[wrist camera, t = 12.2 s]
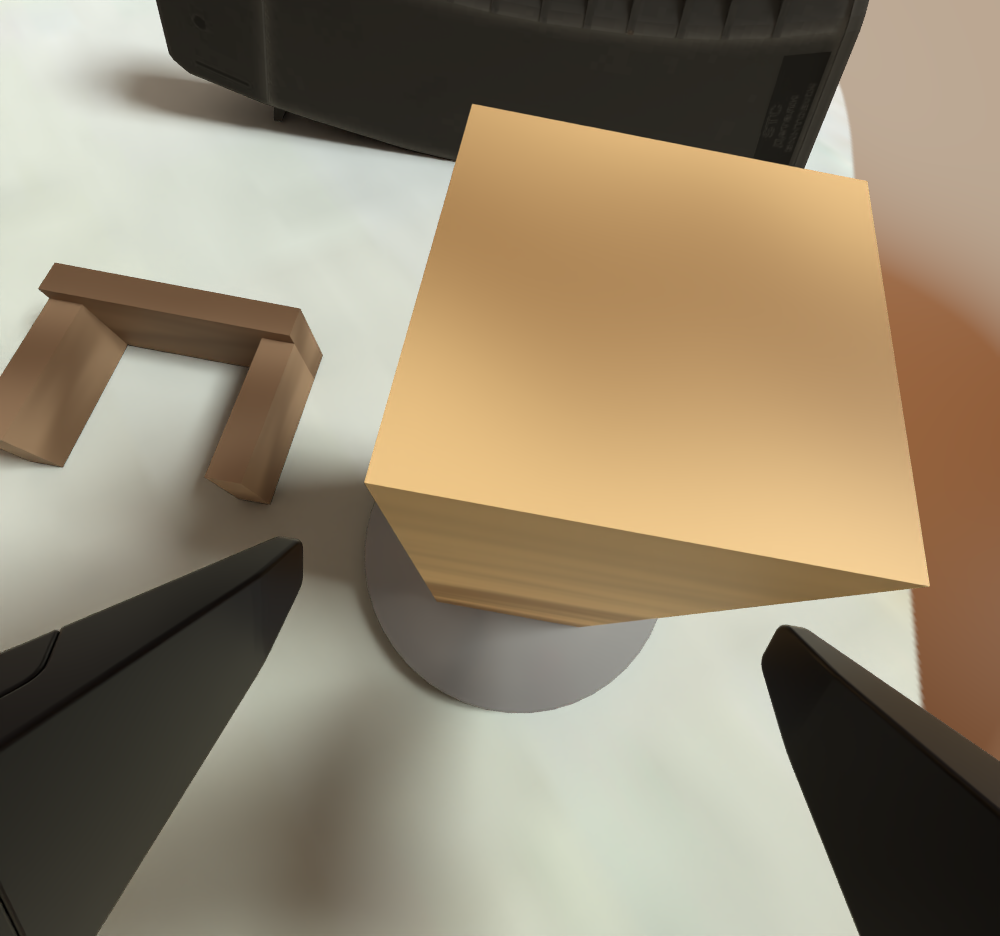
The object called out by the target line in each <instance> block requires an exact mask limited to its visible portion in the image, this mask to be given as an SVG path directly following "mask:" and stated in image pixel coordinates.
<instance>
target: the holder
mask: <svg viewBox="0 0 1000 936" xmlns="http://www.w3.org/2000/svg"><path fill="white" fill-rule="evenodd" d="M38 289H39V290H40V291H41V292H43V293H44V294H45V295H46V296H47V297H49V300H48V302H47V303H46V305H45V306H44V308H43V310H42V311H41V313H40V314H39V316H38V318H37V319H36V321H35V322H34V324H33V326H32V327H31V329H30V330H29V332H28V333H27V335H26V337H25V338H24V340H23V341H22V343H21V345H20V346H19V348H18V349H17V351H16V353H15V354H14V356H13V357H12V359H11V361H10V362H9V364H8V365H7V367H6V368H5V370H4V372H3V373H2V375H1V376H0V449H2V450H5V451H7V452H10V453H12V454H14V455H17V456H19V457H22V458H24V459H26V460H29V461H32V462H37V463H43V464H48V465H54V466H59V467H63V466H64V464H65V462H66V460H67V458H68V456H69V454H70V453H71V451H72V449H73V447H74V445H75V443H76V441H77V439H78V437H79V436H80V434H81V432H82V430H83V428H84V426H85V424H86V422H87V421H88V419H89V417H90V415H91V413H92V411H93V409H94V407H95V406H96V404H97V402H98V400H99V398H100V396H101V394H102V392H103V390H104V389H105V387H106V385H107V383H108V381H109V379H110V377H111V375H112V374H113V372H114V370H115V368H116V366H117V364H118V362H119V360H120V359H121V357H122V355H123V353H124V351H125V349H126V347H127V345H132V346H137V347H143V348H148V349H153V350H159V351H164V352H170V353H175V354H180V355H186V356H191V357H197V358H202V359H207V360H213V361H218V362H224V363H229V364H234V365H240V366H245V367H250V368H249V370H248V373H247V375H246V378H245V380H244V382H243V385H242V387H241V390H240V392H239V395H238V397H237V399H236V402H235V404H234V407H233V409H232V411H231V414H230V416H229V419H228V421H227V424H226V426H225V428H224V431H223V433H222V436H221V438H220V440H219V443H218V445H217V448H216V450H215V453H214V455H213V457H212V460H211V462H210V465H209V467H208V469H207V472H206V474H205V478H206V479H208V480H210V481H211V482H213V483H214V484H216V485H217V486H219V487H221V488H222V489H224V490H225V491H227V492H228V493H230V494H231V495H233V496H235V497H236V498H238V499H242V500H247V501H253V502H259V503H264V504H270V503H271V500H272V497H273V495H274V492H275V489H276V486H277V483H278V480H279V478H280V475H281V472H282V469H283V466H284V463H285V461H286V458H287V455H288V452H289V449H290V446H291V444H292V441H293V438H294V435H295V432H296V429H297V427H298V424H299V421H300V418H301V415H302V412H303V410H304V407H305V404H306V401H307V398H308V395H309V393H310V390H311V387H312V384H313V381H314V378H315V376H316V373H317V370H318V367H319V364H320V361H321V359H322V356H323V355H322V353H321V351H320V348H319V346H318V344H317V342H316V340H315V338H314V336H313V334H312V332H311V330H310V328H309V326H308V324H307V322H306V320H305V317H304V315H303V313H302V311H301V309H299V308H294V307H289V306H283V305H278V304H273V303H267V302H262V301H257V300H251V299H246V298H241V297H235V296H230V295H225V294H219V293H214V292H209V291H203V290H198V289H193V288H187V287H182V286H177V285H171V284H166V283H161V282H155V281H150V280H145V279H139V278H134V277H129V276H123V275H118V274H113V273H107V272H102V271H97V270H91V269H86V268H81V267H75V266H70V265H65V264H59V263H54V265H53V266H52V268H51V269H50V271H49V273H48V274H47V276H46V277H45V279H44V280H43V282H42V283H41V285H40V286H39V288H38Z"/></svg>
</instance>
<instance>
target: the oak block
mask: <svg viewBox="0 0 1000 936" xmlns="http://www.w3.org/2000/svg"><path fill="white" fill-rule="evenodd" d="M364 483H365V485H366V487H367V488H368V490H369V491H370V493H371V495H372V496H373V498H374V500H375V501H376V503H377V505H378V506H379V508H380V509H381V511H382V513H383V514H384V516H385V518H386V519H387V521H388V523H389V524H390V526H391V527H392V529H393V531H394V532H395V534H396V536H397V537H398V539H399V541H400V542H401V544H402V545H403V547H404V549H405V550H406V552H407V554H408V555H409V557H410V559H411V560H412V562H413V563H414V565H415V567H416V568H417V570H418V572H419V573H420V575H421V577H422V578H423V580H424V581H425V583H426V585H427V586H428V588H429V590H430V591H431V593H432V595H433V596H434V598H435V599H436V601H437V602H442V603H447V604H453V605H458V606H464V607H470V608H475V609H481V610H486V611H492V612H497V613H503V614H508V615H514V616H520V617H525V618H531V619H536V620H542V621H547V622H553V623H559V624H564V625H570V626H575V627H586V626H595V625H603V624H612V623H620V622H629V621H637V620H646V619H655V618H663V617H672V616H680V615H689V614H697V613H706V612H714V611H723V610H732V609H740V608H749V607H757V606H766V605H774V604H783V603H792V602H800V601H809V600H817V599H826V598H834V597H843V596H851V595H860V594H869V593H877V592H886V591H894V590H903V589H911V588H920V587H929V586H930V585H929V579H928V572H927V565H926V559H925V552H924V546H923V539H922V533H921V526H920V520H919V514H918V507H917V501H916V494H915V488H914V481H913V475H912V468H911V462H910V455H909V449H908V442H907V436H906V429H905V423H904V416H903V410H902V403H901V397H900V390H899V384H898V378H897V371H896V365H895V358H894V352H893V345H892V339H891V332H890V326H889V319H888V314H887V306H886V300H885V293H884V288H883V280H882V274H881V267H880V262H879V255H878V248H877V242H876V235H875V229H874V223H873V216H872V209H871V203H870V197H869V190H868V184H867V181H863V180H858V179H853V178H848V177H843V176H838V175H833V174H828V173H823V172H818V171H812V170H807V169H802V168H797V167H792V166H787V165H782V164H777V163H772V162H767V161H761V160H756V159H751V158H746V157H741V156H736V155H731V154H726V153H721V152H716V151H710V150H705V149H700V148H695V147H690V146H685V145H680V144H675V143H670V142H665V141H659V140H654V139H649V138H644V137H639V136H634V135H629V134H624V133H619V132H614V131H608V130H603V129H598V128H593V127H588V126H583V125H578V124H573V123H568V122H563V121H557V120H552V119H547V118H542V117H537V116H532V115H527V114H522V113H517V112H512V111H506V110H501V109H496V108H491V107H486V106H481V105H476V104H472V107H471V110H470V114H469V117H468V121H467V124H466V128H465V131H464V135H463V138H462V142H461V145H460V149H459V152H458V156H457V159H456V163H455V166H454V170H453V173H452V177H451V180H450V184H449V187H448V191H447V194H446V198H445V201H444V205H443V208H442V212H441V215H440V219H439V222H438V226H437V229H436V233H435V236H434V240H433V243H432V247H431V250H430V254H429V257H428V261H427V264H426V268H425V271H424V275H423V278H422V282H421V285H420V289H419V292H418V296H417V299H416V303H415V306H414V310H413V313H412V317H411V320H410V324H409V327H408V331H407V334H406V338H405V341H404V345H403V348H402V352H401V355H400V359H399V362H398V366H397V369H396V373H395V376H394V380H393V383H392V387H391V390H390V394H389V397H388V401H387V404H386V408H385V411H384V415H383V418H382V422H381V425H380V429H379V432H378V436H377V439H376V443H375V446H374V450H373V453H372V457H371V460H370V464H369V467H368V471H367V474H366V478H365V481H364Z"/></svg>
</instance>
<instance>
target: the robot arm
mask: <svg viewBox="0 0 1000 936" xmlns="http://www.w3.org/2000/svg"><path fill="white" fill-rule="evenodd" d="M302 579H303V546H302V542H301V541H300V540H298V539H292V538H287V537H276V538H273V539H271V540H268V541H266V542H263V543H261V544H259V545H256V546H254V547H252V548H249V549H247V550H244V551H242V552H240V553H237V554H235V555H233V556H230V557H228V558H225V559H223V560H221V561H218V562H216V563H214V564H211V565H209V566H207V567H204V568H202V569H199V570H197V571H195V572H192V573H190V574H188V575H185V576H183V577H180V578H178V579H176V580H173V581H171V582H169V583H166V584H164V585H161V586H159V587H157V588H154V589H152V590H150V591H147V592H145V593H142V594H140V595H138V596H135V597H133V598H130V599H128V600H126V601H123V602H121V603H119V604H116V605H114V606H111V607H109V608H107V609H104V610H102V611H100V612H97V613H95V614H92V615H90V616H88V617H85V618H83V619H81V620H78V621H76V622H73V623H71V624H69V625H66V626H64V627H62V628H61V630H60V632H59V631H58V630H54V631H52V632H49V633H47V634H45V635H42V636H40V637H38V638H35V639H33V640H30V641H28V642H26V643H23V644H21V645H18V646H16V647H13V648H11V649H8V650H6V651H4V652H1V653H0V936H96V935H97V933H98V932H99V930H100V928H101V927H102V925H103V924H104V922H105V920H106V919H107V917H108V916H109V914H110V912H111V911H112V909H113V907H114V906H115V904H116V903H117V901H118V899H119V898H120V896H121V895H122V893H123V891H124V890H125V888H126V886H127V885H128V883H129V882H130V880H131V878H132V877H133V875H134V874H135V872H136V870H137V869H138V867H139V865H140V864H141V862H142V861H143V859H144V857H145V856H146V854H147V853H148V851H149V849H150V848H151V846H152V844H153V843H154V841H155V840H156V838H157V836H158V835H159V833H160V831H161V830H162V828H163V827H164V825H165V823H166V822H167V820H168V819H169V817H170V815H171V814H172V812H173V810H174V809H175V807H176V806H177V804H178V802H179V801H180V799H181V798H182V796H183V794H184V793H185V791H186V789H187V788H188V786H189V785H190V783H191V781H192V780H193V778H194V777H195V775H196V773H197V772H198V770H199V768H200V767H201V765H202V764H203V762H204V760H205V759H206V757H207V756H208V754H209V752H210V751H211V749H212V747H213V746H214V744H215V743H216V741H217V739H218V738H219V736H220V735H221V733H222V731H223V730H224V728H225V726H226V725H227V723H228V722H229V720H230V718H231V717H232V715H233V713H234V712H235V710H236V709H237V707H238V705H239V704H240V702H241V701H242V699H243V697H244V696H245V694H246V692H247V691H248V689H249V688H250V686H251V684H252V683H253V681H254V680H255V678H256V676H257V675H258V673H259V671H260V669H261V668H262V666H263V664H264V663H265V661H266V659H267V657H268V655H269V653H270V651H271V649H272V647H273V644H274V642H275V640H276V638H277V636H278V634H279V632H280V630H281V628H282V626H283V623H284V621H285V619H286V617H287V615H288V613H289V611H290V609H291V607H292V605H293V602H294V600H295V598H296V596H297V594H298V592H299V590H300V587H301V584H302ZM761 665H762V672H763V675H764V678H765V682H766V685H767V688H768V692H769V695H770V699H771V702H772V705H773V709H774V712H775V716H776V719H777V722H778V726H779V729H780V733H781V736H782V739H783V742H784V745H785V749H786V752H787V754H788V757H789V760H790V762H791V765H792V768H793V770H794V773H795V775H796V778H797V780H798V783H799V785H800V788H801V790H802V793H803V795H804V798H805V800H806V803H807V805H808V808H809V810H810V813H811V815H812V818H813V820H814V823H815V825H816V828H817V830H818V833H819V835H820V838H821V840H822V843H823V845H824V848H825V850H826V853H827V855H828V858H829V860H830V863H831V865H832V868H833V870H834V873H835V875H836V878H837V880H838V883H839V886H840V888H841V891H842V893H843V896H844V898H845V901H846V903H847V906H848V908H849V911H850V913H851V916H852V918H853V921H854V923H855V926H856V928H857V931H858V933H859V936H1000V761H998V760H997V759H996V758H994V757H993V756H991V755H990V754H988V753H987V752H985V751H984V750H982V749H981V748H980V747H978V746H976V745H975V744H973V743H972V742H971V741H969V740H968V739H966V738H965V737H963V736H962V735H961V734H959V733H958V732H956V731H955V730H953V729H952V728H950V727H949V726H947V725H946V724H945V723H943V722H942V721H940V720H939V719H937V718H936V717H934V716H933V715H931V714H930V713H928V712H927V711H926V710H924V709H923V708H921V707H920V706H918V705H917V704H915V703H914V702H913V701H911V700H910V699H908V698H907V697H905V696H904V695H902V694H901V693H899V692H898V691H897V690H895V689H894V688H892V687H891V686H889V685H888V684H886V683H885V682H883V681H882V680H881V679H879V678H878V677H876V676H875V675H873V674H872V673H870V672H869V671H867V670H866V669H865V668H863V667H862V666H860V665H859V664H857V663H856V662H854V661H853V660H851V659H850V658H849V657H847V656H846V655H844V654H843V653H841V652H840V651H838V650H837V649H835V648H834V647H832V646H831V645H830V644H828V643H827V642H825V641H824V640H822V639H821V638H819V637H818V636H816V635H815V634H814V633H812V632H811V631H809V630H808V629H805V628H803V627H797V626H791V625H781V626H780V627H779V628H778V629H777V630H776V632H775V634H774V635H773V637H772V639H771V641H770V643H769V645H768V647H767V648H766V650H765V652H764V654H763V656H762V662H761Z"/></svg>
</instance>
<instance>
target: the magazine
mask: <svg viewBox="0 0 1000 936" xmlns="http://www.w3.org/2000/svg"><path fill="white" fill-rule="evenodd" d="M156 2H157V6H158V10H159V14H160V19H161V23H162V27H163V31H164V35H165V39H166V43H167V47H168V51H169V54H170V56H171V57H172V58H173V60H174V61H176V62H177V63H178V64H179V65H180V66H182V67H183V68H184V69H185V70H186V71H187V72H189V73H190V74H193V75H195V76H198V77H200V78H203V79H205V80H208V81H210V82H213V83H215V84H217V85H220V86H222V87H225V88H227V89H230V90H232V91H235V92H237V93H240V94H242V95H245V96H247V97H249V98H252V99H254V100H257V101H259V102H262V103H264V104H267V105H271V106H274V120H275V121H280V122H281V121H282V119H283V116H284V114H285V111H288V112H291V113H294V114H296V115H299V116H302V117H305V118H308V119H311V120H314V121H318V122H321V123H324V124H327V125H331V126H334V127H337V128H340V129H343V130H347V131H350V132H353V133H356V134H359V135H363V136H366V137H369V138H372V139H376V140H379V141H382V142H385V143H388V144H392V145H395V146H398V147H401V148H405V149H409V150H413V151H417V152H421V153H425V154H429V155H433V156H437V157H441V158H445V159H450V160H456V159H457V156H458V152H459V149H460V145H461V142H462V138H463V135H464V131H465V128H466V124H467V121H468V117H469V114H470V110H471V107H472V104H476V105H481V106H486V107H491V108H496V109H501V110H506V111H512V112H517V113H522V114H527V115H532V116H537V117H542V118H547V119H552V120H557V121H563V122H568V123H573V124H578V125H583V126H588V127H593V128H598V129H603V130H608V131H614V132H619V133H624V134H629V135H634V136H639V137H644V138H649V139H654V140H659V141H665V142H670V143H675V144H680V145H685V146H690V147H695V148H700V149H705V150H710V151H716V152H721V153H726V154H731V155H736V156H741V157H746V158H751V159H756V160H761V161H767V162H772V163H777V164H782V165H787V166H792V167H797V168H802V169H804V168H805V165H806V163H807V160H808V158H809V155H810V153H811V150H812V148H813V145H814V143H815V140H816V138H817V136H818V133H819V131H820V128H821V126H822V123H823V121H824V118H825V116H826V113H827V111H828V108H829V106H830V103H831V101H832V99H833V96H834V94H835V91H836V89H837V86H838V84H839V81H840V78H841V76H842V74H843V71H844V69H845V66H846V64H847V61H848V59H849V57H850V54H851V51H852V49H853V47H854V44H855V42H856V39H857V37H858V34H859V32H860V29H861V26H862V23H863V20H864V17H865V14H866V10H867V6H868V2H869V0H156Z"/></svg>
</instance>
